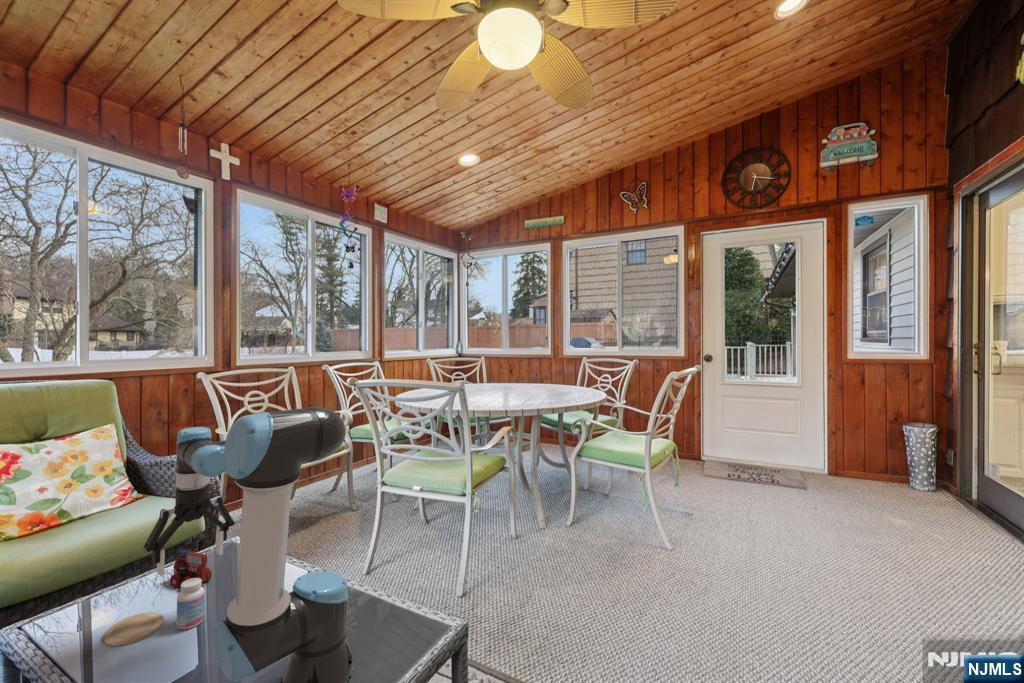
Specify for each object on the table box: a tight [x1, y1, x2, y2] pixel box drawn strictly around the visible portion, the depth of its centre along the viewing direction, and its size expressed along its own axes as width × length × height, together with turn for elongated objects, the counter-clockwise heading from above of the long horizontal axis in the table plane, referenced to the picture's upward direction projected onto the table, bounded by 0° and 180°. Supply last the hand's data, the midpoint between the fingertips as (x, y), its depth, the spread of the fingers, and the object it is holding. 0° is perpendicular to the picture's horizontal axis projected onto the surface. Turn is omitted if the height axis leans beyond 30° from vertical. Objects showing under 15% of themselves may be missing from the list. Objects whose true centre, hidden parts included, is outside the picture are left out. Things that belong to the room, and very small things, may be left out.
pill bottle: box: [175, 578, 205, 630], centre depth 120 cm, size 6×6×11 cm
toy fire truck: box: [169, 549, 213, 589], centre depth 138 cm, size 7×12×10 cm, turn 72°
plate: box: [102, 612, 164, 647], centre depth 117 cm, size 12×12×1 cm
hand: (191, 563), depth 120 cm, fingers open, 13 cm apart
